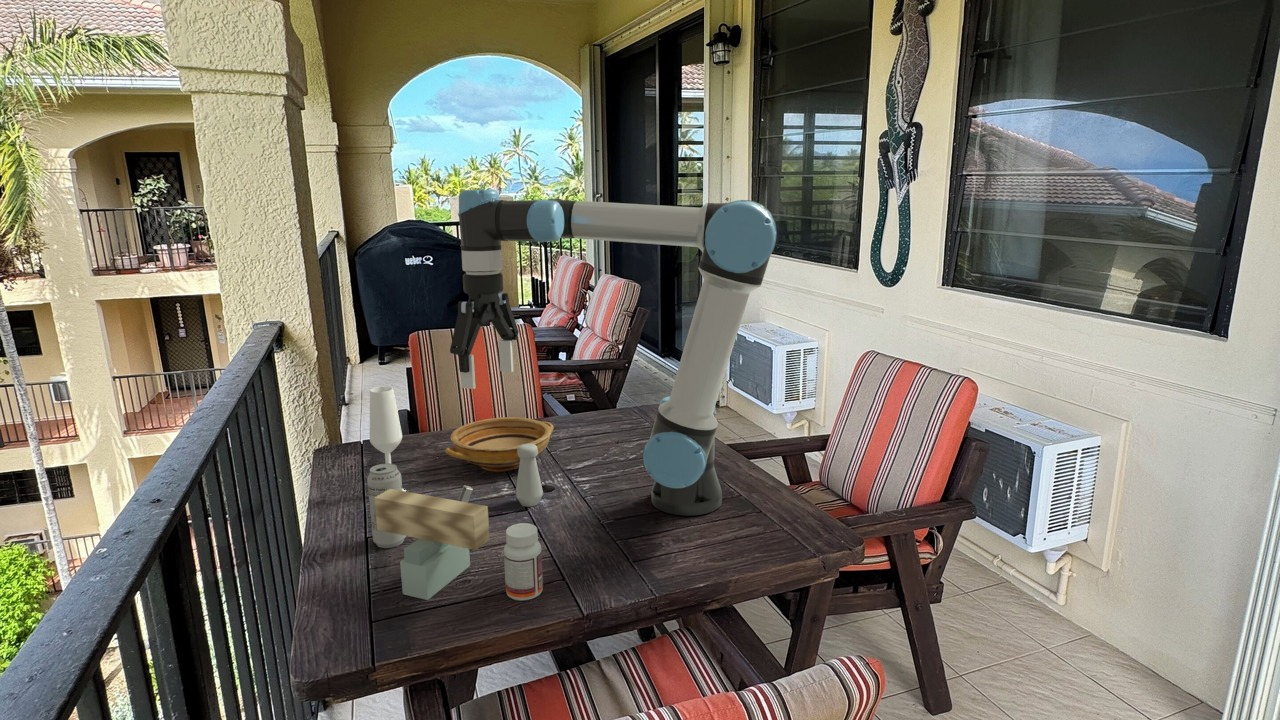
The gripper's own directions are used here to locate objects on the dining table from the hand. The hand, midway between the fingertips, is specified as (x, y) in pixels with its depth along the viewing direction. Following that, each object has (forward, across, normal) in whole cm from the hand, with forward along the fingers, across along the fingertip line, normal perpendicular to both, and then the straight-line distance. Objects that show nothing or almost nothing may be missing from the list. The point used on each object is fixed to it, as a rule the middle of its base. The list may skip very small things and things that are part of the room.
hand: (488, 379), depth 143 cm
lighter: (+29, +8, -4) cm, 30 cm away
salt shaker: (+29, -7, +4) cm, 30 cm away
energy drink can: (+29, +18, -12) cm, 36 cm away
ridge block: (+29, +26, +5) cm, 39 cm away
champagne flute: (+29, 0, -27) cm, 40 cm away
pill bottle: (+29, +24, +21) cm, 43 cm away
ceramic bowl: (+29, -25, -14) cm, 41 cm away
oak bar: (+20, +26, +5) cm, 33 cm away
